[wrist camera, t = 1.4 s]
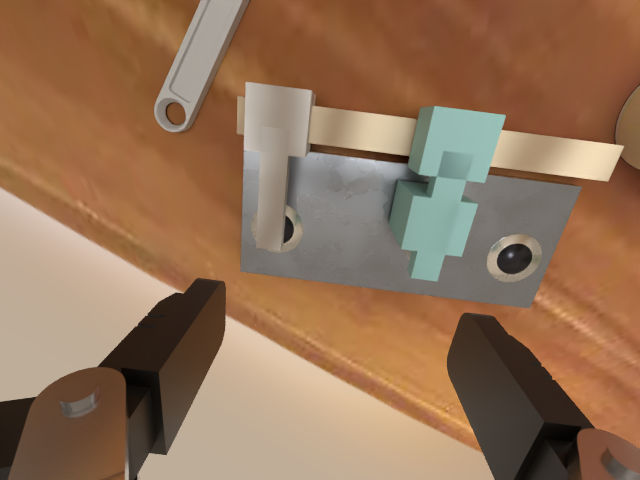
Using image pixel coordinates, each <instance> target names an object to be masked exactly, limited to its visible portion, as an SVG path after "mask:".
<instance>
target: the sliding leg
mask: <svg viewBox="0 0 640 480" xmlns="http://www.w3.org/2000/svg"><path fill="white" fill-rule="evenodd" d="M505 117H506V115H501V114H493V113H485V112H478V111H470V110H462V109H454V108H447V107H439V106H430V107H421V108H420V112H419V116H418V121H417V125H416V130H415V135H414V139H413V144H412V148H411V153H410V157H409V162H408V168H410V169H411V170H413V171H414V172H416V173H417V174H419V175H426V176H430V180H429V184H424V183H416V182H408V181H400V180H398V183H397V188H396V192H395V197H394V202H393V207H392V211H391V216H390V221H389V226H390V228H391V230H392V232H393V234H394V236H395V238H396V240H397V242H398V244H399V246H400V248H401V249H404V251H405V253H406V255H407V257H408V259H409V265H408V269H407V271H408V273H409V275H410V277H411V278H414V279H422V280H430V281H437V280H438V277H439V273H440V270H441V267H442V263H443V260H444V256H445V255H451V256H458V257H462V254H463V251H464V248H465V244H466V241H467V238H468V235H469V232H470V229H471V225H472V222H473V219H474V216H475V213H476V209H477V206H478V203H476V202H474V201H473V200H471V199H469V198H468V197H466V196H464V195H463V191H464V188H465V184H466V181H473V182H481V183H485V181H486V178H487V174H488V171H489V168H490V165H491V162H492V158H493V155H494V152H495V149H496V146H497V143H498V139H499V136H500V133H501V130H502V127H503V123H504V120H505Z"/></svg>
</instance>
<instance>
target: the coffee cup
mask: <svg viewBox="0 0 640 480" xmlns="http://www.w3.org/2000/svg"><path fill="white" fill-rule="evenodd" d="M615 141H616V145H622V146H624V148H623V150H622V152H621V154H620V155H621V157H622V158H623V159H624V160H625V161H626V162H627V163H628V164H630V165H631V166H633V167H635V168H637V169H640V85H639V86H638V87H637V88H636V89H635V90H634V92H633V93H632V94H631V95H630V97H629V98H628V100H627V101H626V103H625V104H624V106H623V108H622V110H621V112H620V114H619V117H618V121H617V124H616V131H615Z"/></svg>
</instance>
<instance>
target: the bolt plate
mask: <svg viewBox="0 0 640 480" xmlns="http://www.w3.org/2000/svg"><path fill="white" fill-rule="evenodd" d="M260 154H261V152H255V151H247V150H244V168H243V202H242V236H241V270H240V272H248V273H256V274H264V275H272V276H279V277H287V278H295V279H303V280H311V281H319V282H327V283H334V284H342V285H350V286H358V287H366V288H374V289H382V290H389V291H397V292H405V293H413V294H421V295H429V296H437V297H444V298H452V299H460V300H468V301H476V302H484V303H492V304H499V305H507V306H515V307H523V308H530V307H531V304H532V302H533V300H534V297H535V295H536V293H537V290H538V288H539V286H540V283H541V281H542V279H543V276H544V274H545V272H546V269H547V267H548V265H549V263H550V260H551V258H552V256H553V253H554V251H555V249H556V246H557V244H558V242H559V239H560V237H561V235H562V232H563V230H564V228H565V225H566V223H567V221H568V218H569V216H570V214H571V211H572V209H573V207H574V204H575V202H576V200H577V198H578V195H579V193H580V191H581V188H582V187H581V186H577V185H574V184H567V183H559V182H551V181H543V180H535V179H528V178H520V177H512V176H504V175H496V174H489V173H488V174H487V178H486V181H485V183H481V182H473V181H466V184H465V188H464V191H463V195H464V196H466V197H468V198H469V199H471V200H473V201H474V202H476V203H478V206H477V209H476V213H475V216H474V219H473V222H472V225H471V229H470V232H469V235H468V238H467V241H466V244H465V248H464V251H463V254H462V257H458V256H451V255H445V256H444V260H443V263H442V267H441V270H440V273H439V277H438V280H437V281H430V280H422V279H414V278H411V277H410V275H409V273H408V271H407V269H408V265H409V259H408V257H407V255H406V253H405V251H404V249H401V248H400V246H399V244H398V242H397V240H396V238H395V236H394V234H393V232H392V230H391V228H390V226H389V221H390V216H391V211H392V207H393V202H394V197H395V192H396V188H397V183H398V180H400V181H408V182H416V183H424V184H429V180H430V176H426V175H419V174H417V173H416V172H414V171H413V170H411V169H410V168H408V163H403V162H395V161H387V160H379V159H372V158H364V157H356V156H348V155H340V154H333V153H325V152H317V151H310V152H309V153H308V154H307V156H306V157H305V158H302V157H294V156H290V166H289V178H288V190H287V203H286V215H285V227H284V239H283V246H282V249H281V251H276V250H268V249H260V248H256V237H257V216H258V195H259V175H260Z"/></svg>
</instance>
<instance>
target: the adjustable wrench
mask: <svg viewBox="0 0 640 480" xmlns="http://www.w3.org/2000/svg"><path fill="white" fill-rule="evenodd" d="M249 1H250V0H201V1H200V4H199V6H198V8H197V10H196V13H195V15H194V17H193V19H192V22H191V24H190V26H189V28H188V31H187V33H186V35H185V37H184V40H183V42H182V44H181V46H180V49H179V51H178V53H177V56H176V58H175V60H174V62H173V65H172V67H171V69H170V71H169V74H168V76H167V78H166V80H165V83H164V85H163V87H162V89H161V92H160V94H159V96H158V98H157V101H156V103H155V107H154V114H155V117H156V120H157V122H158V123H159V125H160V126H161V127H163V128H164V129H165V130H167V131H170V132H182V131H186V130H188V129H189V128H190V127H191V126H192V124H193V123H194V120H195V118H196V116H197V114H198V112H199V109H200V107H201V105H202V103H203V101H204V99H205V96H206V94H207V92H208V90H209V88H210V86H211V83H212V81H213V79H214V77H215V75H216V72H217V70H218V68H219V66H220V64H221V62H222V59H223V57H224V55H225V53H226V51H227V49H228V46H229V44H230V42H231V40H232V38H233V35H234V33H235V31H236V29H237V27H238V25H239V22H240V20H241V18H242V16H243V14H244V12H245V9H246V7H247V5H248V3H249ZM172 102H177V103H179V104H181V105H182V106H183V107H184V109H185V112H186V120H185V122H184V123H183V124H181V125H174V124H172V123H170V122H169V120H168V119H167V116H166V106H167V105H168V104H169V103H172Z"/></svg>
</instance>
